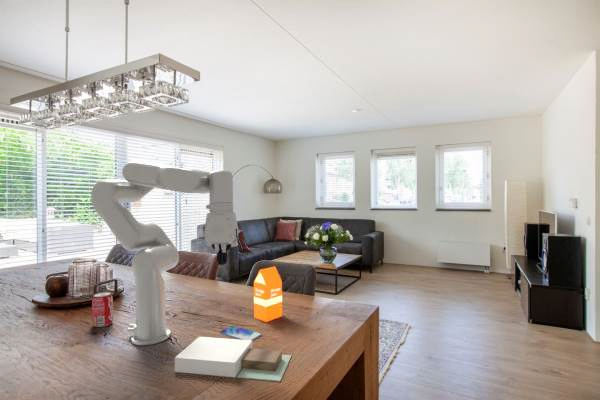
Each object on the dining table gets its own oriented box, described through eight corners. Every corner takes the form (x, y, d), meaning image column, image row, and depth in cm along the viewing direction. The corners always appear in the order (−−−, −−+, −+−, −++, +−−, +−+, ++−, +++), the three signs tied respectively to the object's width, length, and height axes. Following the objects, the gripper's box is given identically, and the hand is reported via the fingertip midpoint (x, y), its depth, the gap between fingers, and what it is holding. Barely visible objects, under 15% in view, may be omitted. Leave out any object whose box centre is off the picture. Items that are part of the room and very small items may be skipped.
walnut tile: (241, 368, 92) (241, 359, 92) (250, 356, 98) (249, 348, 98) (275, 371, 90) (275, 362, 90) (281, 359, 96) (281, 350, 96)
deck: (175, 371, 91) (174, 357, 91) (199, 348, 105) (199, 336, 105) (235, 377, 87) (235, 362, 87) (252, 353, 101) (252, 340, 101)
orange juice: (253, 317, 132) (253, 268, 132) (270, 311, 138) (269, 265, 138) (266, 322, 127) (265, 271, 126) (282, 316, 133) (282, 267, 133)
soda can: (110, 319, 131) (110, 290, 131) (115, 324, 126) (115, 293, 126) (90, 324, 126) (89, 294, 126) (94, 329, 121) (94, 298, 121)
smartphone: (249, 341, 108) (218, 332, 117) (249, 344, 108) (218, 334, 117) (263, 333, 114) (232, 325, 123) (263, 336, 114) (233, 327, 123)
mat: (237, 377, 87) (237, 376, 87) (254, 353, 101) (254, 352, 101) (280, 381, 85) (280, 380, 85) (291, 356, 99) (291, 355, 99)
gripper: (194, 208, 104) (195, 266, 104) (238, 208, 101) (239, 267, 101) (205, 208, 111) (206, 261, 111) (247, 207, 108) (247, 262, 108)
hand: (222, 264), depth 106 cm, fingers closed
